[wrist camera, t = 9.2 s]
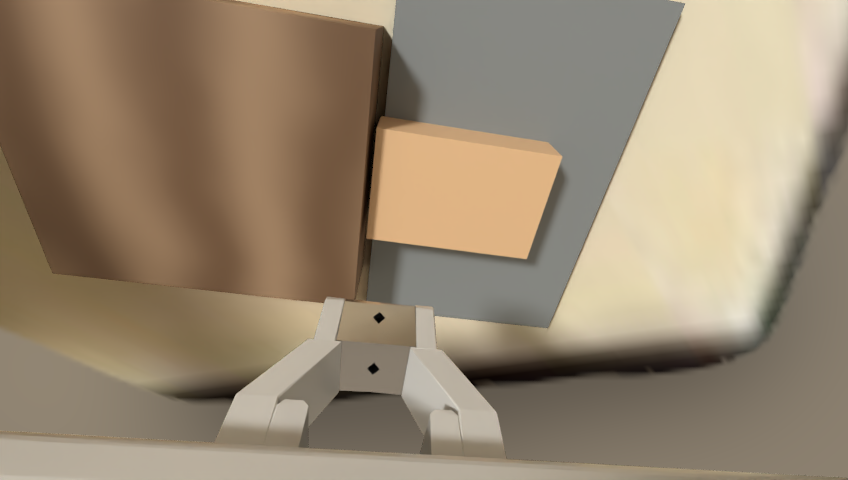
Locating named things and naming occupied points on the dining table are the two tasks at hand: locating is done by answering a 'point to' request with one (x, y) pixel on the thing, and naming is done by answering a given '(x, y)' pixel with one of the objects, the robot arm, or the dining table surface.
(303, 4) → the dining table surface
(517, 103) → the mat
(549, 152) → the tile
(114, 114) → the deck
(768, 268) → the dining table surface
